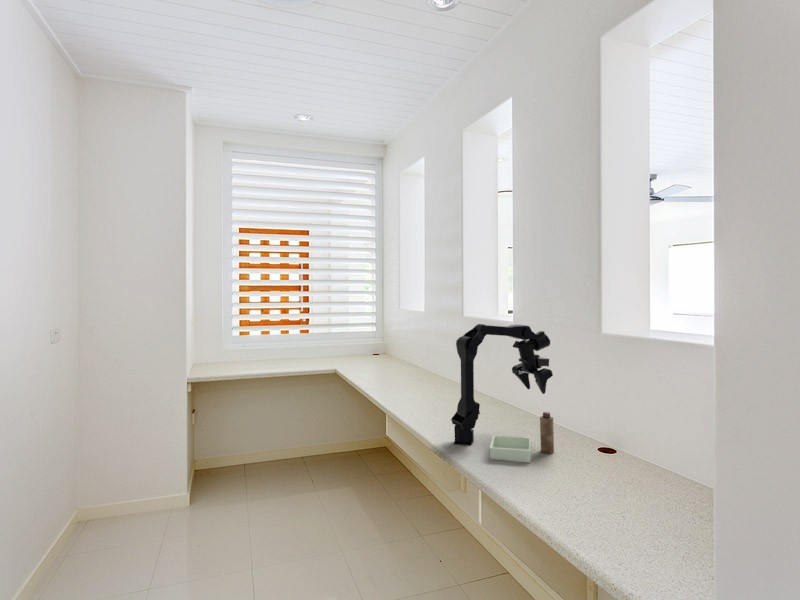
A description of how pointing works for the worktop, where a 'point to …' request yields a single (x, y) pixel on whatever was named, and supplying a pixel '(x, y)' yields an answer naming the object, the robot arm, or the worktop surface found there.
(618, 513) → the worktop surface
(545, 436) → the mill
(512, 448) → the bin
